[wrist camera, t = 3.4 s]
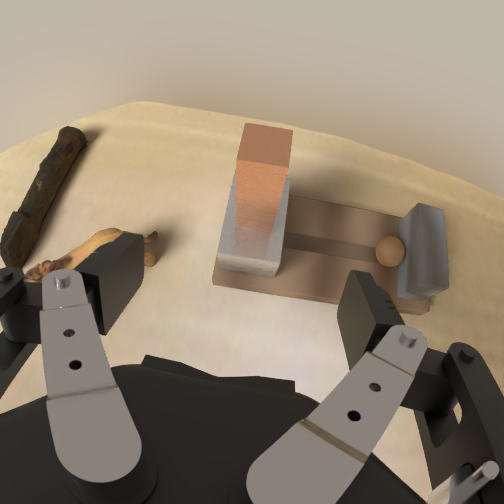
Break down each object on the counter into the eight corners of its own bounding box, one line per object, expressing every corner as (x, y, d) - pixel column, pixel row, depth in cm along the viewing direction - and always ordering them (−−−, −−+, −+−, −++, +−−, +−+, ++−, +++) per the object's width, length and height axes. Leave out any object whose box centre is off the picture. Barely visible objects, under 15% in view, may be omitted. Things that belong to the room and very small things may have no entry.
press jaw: (284, 201, 32) (310, 107, 20) (274, 277, 29) (302, 208, 17) (235, 192, 32) (236, 95, 20) (219, 268, 29) (209, 192, 17)
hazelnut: (396, 246, 31) (409, 234, 29) (396, 273, 30) (410, 263, 28) (371, 241, 31) (383, 228, 29) (370, 268, 30) (383, 258, 28)
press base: (418, 231, 35) (449, 203, 28) (419, 314, 31) (457, 299, 24) (231, 195, 35) (232, 155, 28) (213, 284, 31) (207, 260, 25)
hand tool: (70, 141, 37) (57, 119, 33) (91, 144, 37) (79, 122, 33) (4, 267, 30) (-18, 254, 26) (24, 277, 30) (2, 264, 26)
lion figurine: (69, 344, 28) (19, 331, 20) (45, 305, 29) (-5, 281, 21) (172, 251, 32) (153, 208, 24) (142, 217, 33) (118, 169, 25)
